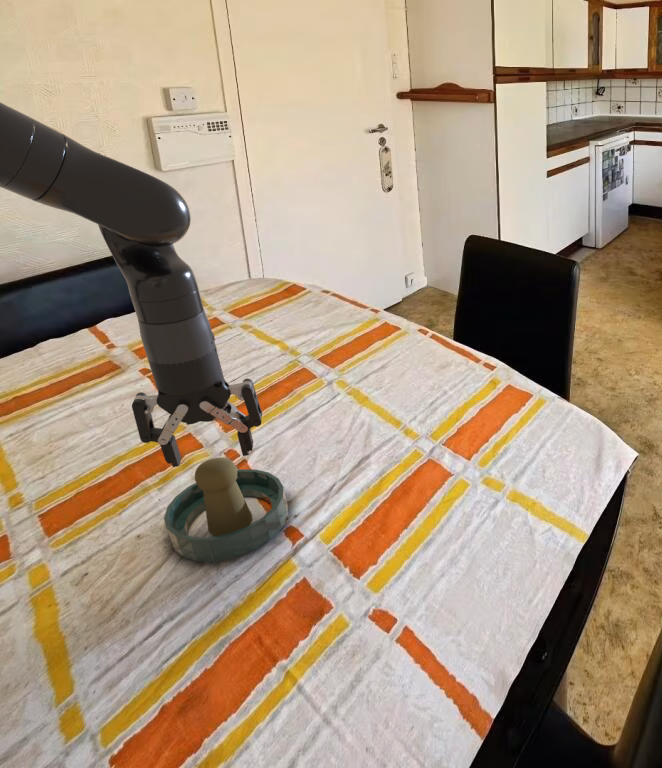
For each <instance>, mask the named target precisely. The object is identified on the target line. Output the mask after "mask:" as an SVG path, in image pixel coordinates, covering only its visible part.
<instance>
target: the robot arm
mask: <svg viewBox="0 0 662 768" xmlns="http://www.w3.org/2000/svg"><path fill="white" fill-rule="evenodd" d="M0 188H1V189H4V190H6V191H9V192H12V193H14V194H17V195H19V196H21V197H22V198H23V197H24V198H25V199H28V200H32V201H33V202H36V203H39V204H41V205H44V206H47V207H50V208H54V209H57V210H61V211H65V212H68V213H72V214H74V215H76V216H79V217H81V218H83V219H86V220H88V221H90V222H92V223H94V224H96V225H97V226H98V229H99V231H100V233H101V236H102V238H103V240H104V242H105V244H106V246H107V248H108V250H109V252H110V254H111V255H112V258H113V259H114V261H115V263H116V266H117V267H118V269H119V271H120V272H121V274H122V275H123V277H124V279H125V282H126V284H127V288H128V292H129V296H130V299H131V302H132V305H133V308H134V311H135V315H136V319H137V322H138V328H139V334H140V339H141V342H142V346H143V349H144V353H145V356H146V359H147V362H148V365H149V369H150V371H151V374H152V378H153V380H154V383H155V387H156V390H157V394H152V395H147V394H146V393H145V392H141V391H140V392H138V393H136V395H135V397H134V399H133V401H132V403H131V409H132V413H133V416H134V421H135V424H136V428H137V432H138V436H139V439H140V442H142V443H144V444H149V443H151V442H154V443H157V444H159V445H160V449H161V452H162V454H163V457H164V461H165V463H167V464H168V465H170V464H171V466H172V468H176V467H177V468H178V467H180V465H181V463H182V455H181V452H180V449H179V445H178V443H177V439H176V436H175V435H174V434H175V432H176V431H177V429H178V427H179V426H180V424H181V423H185V424H186V425H188V426H189V425H194V424H197V423H200V422H201V423H202V422H204V423H209V422H215V419H217V420H218V421H220V422H221V423H222V424H224V425H227V426H231V427H232V428H233V429H234V430H236V431H237V432H236V433H237V434H236V435H237V438H238V443H239V447H240V450H241V454H242V457H246V456H250V452H252V451H253V448H254V439H253V435H252V430H251V429H252V428H254V427H255V428H256V427H260V426H261V425H262V417H263V412H262V411H263V410H262V408H261V405H260V402H259V398H258V394H257V392H256V388H255V385H254V382H253V380H252V379H251V378H244V379H243V381H242V382H239V383H234V384H229V383H228V382H227V381H226V379H225V376H224V373H223V368H222V365H221V362H220V357H219V353H218V349H217V345H216V338H215V334H214V332H213V330H212V327H211V324H210V323H211V322H210V321H209V318H208V315H207V313H206V311H205V308H204V304H203V300H202V297H201V293H200V288H199V285H198V281H197V278H196V275H195V273H194V271H193V269H192V267H191V266H190V265H189V264H188V263H187V262H186V261H185V260H183V259H182V258H181V257H180V256H179V254H178V253H177V251H176V248H175V246H174V244H176V243H178V242H179V241H181V240H182V239H183V238H184V237H185V236H186V235H187V233H188V231H189V229H190V226H191V220H192V219H191V211H190V208H189V205H188V202H187V201H186V200H185V198H184V196H183V195H182V193H180V192H179V191H178V190H177V189H176V188H175V187H174V186H172V185H171V184H169V183H167V182H165V181H164V180H161V179H160V178H157V177H155V176H154V175H151V174H149V173H147V172H144V171H142V170H140V169H138V168H135V167H133V166H132V165H131V166H130V165H128V164H126V163H124V162H121V161H119V160H116V159H114V158H111V157H109V156H106V155H103V154H101V153H99V152H97V151H94V150H93V149H91V148H89V147H87V146H85V145H83V144H81V143H79V142H78V141H77V140H75V139H73V138H71V137H69V136H67V134H64V133H62V132H61V131H58V130H56V129H55V128H52V127H51V126H49V125H47V124H45V123H43V122H41V121H38V120H36V119H35V118H33V117H30V116H28V115H26V114H25V113H23V112H20V111H19V110H16V109H15V108H13V107H11V106H8V105H7V104H4V103H3V102H1V101H0ZM231 395H234V396H236V398H237V399H238V400H239V401H243V402H244V404H245V408H246V411H247V415H246V414H244V413H243V412H241V411H240V410H239V409H238V408H237V406H236V405H235V404H234V403H232V402H230V401H229V400H230V398H231ZM155 406H158V407H159V408H160V409H161V410H163V411H165V412H166V413H167V414H169V415H168V417H167V419H166V421H165V422H164V424H163V426H162V428H160V427H155V424H154V423H155V422H154V420H153V415H152V413H153V412H154V410H155V408H156V407H155Z"/></svg>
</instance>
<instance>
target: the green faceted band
mask: <svg viewBox="0 0 662 768" xmlns="http://www.w3.org/2000/svg"><path fill="white" fill-rule="evenodd" d="M236 482H237V484H238V487H239V489H240V491H241V493H242V495H243V497H244V498H255V499H258V500H259V499H260V500H262V501H264V502H266V503H267V504H269V505H270V507H271V508H270V510H268V511H267V513H265V514H264V515H263V516H262V517H261V518H259V519H257V520H256V521H254V522H251V524H250V525H249V526H247V527H245V528H243V529H240V530H237V531H235V532H232V533H229V534H225V535H219V536H191V535H189V534H188V533H189V529H190V526H191V525H192V523H193V522H194V521H195V519H196V518H197V517H198V516H200V515H201V514H202V513H203V512H204V511H206V508H205V500H204V493H203V490H202V489H200V488H199V487H198V485H197V483H196V482H194V483H192V484H191V485H188V486H186V488H185V489H183V490H181V492H179V493H178V494H177V495H175V497H174V498H173V500H172V501H170V503H169V505H168V506H167V507H166V510H165V513H164V516H163V521H164V525H165V528H166V531H167V534H168V537H169V539H170V542H171V545H172V548H173V550H174V551H175V552H176V553H178V554H179V555H180V556H181V557H182V558H186V559H189V560H192V561H196V562H221V561H225V560H230V559H235V558H238V557H241V556H243V555H246V554H248V553H251V552H253V551H255V550H257V549H258V548H260V547H262V546H263V545H265V544H267V543H268V542H270V541H271V540H272V539H273V538H274V537H275V536H276V535H277V534H278V533H279V532H280V531H281V530H282V529H283V527H284V525H285V524H286V521H287V519H288V517H289V505H288V501H287V497H286V492H285V488H284V485H283V483H282V482H281V480H280V479H279V478H278V477H277V476H276V475H274V474H272V473H270V472H269V471H264V470H260V469H249V468H248V469H246V468H245V469H243V468H241V469H237V479H236Z"/></svg>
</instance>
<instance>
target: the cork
mask: <svg viewBox="0 0 662 768" xmlns="http://www.w3.org/2000/svg"><path fill="white" fill-rule="evenodd" d="M237 470H238V468H237V466H236V464H235V462H234V461H233V460H231V459H230V458H227V457H223V456H220V457H213V458H209V459H207V460H204V461H203V462H201V463H200V464H199V465H198V466H197V468H196V469H195V472H194V481H195V483H197V485H198V487H199V488H200V489H202V490H203V493H204V500H205V508H206V510H205V515H206V521H207V530H208V532H209V534H210V535H211V536H212V537H214V536H219V535H225V534H229V533H232V532H235V531H237V530H240V529H243V528H245V527H247V526H249V525H251V524H252V523H253V522H252V521H253V515H252V511H251V510H250V508H249V505H248V503H247V501H246V499H245V497H243V495H242V493H241V491H240V489H239V487H238V484H237V482H236V479H237Z"/></svg>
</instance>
